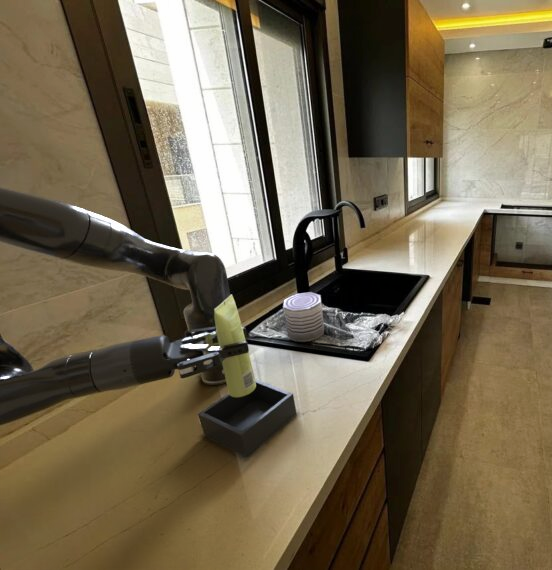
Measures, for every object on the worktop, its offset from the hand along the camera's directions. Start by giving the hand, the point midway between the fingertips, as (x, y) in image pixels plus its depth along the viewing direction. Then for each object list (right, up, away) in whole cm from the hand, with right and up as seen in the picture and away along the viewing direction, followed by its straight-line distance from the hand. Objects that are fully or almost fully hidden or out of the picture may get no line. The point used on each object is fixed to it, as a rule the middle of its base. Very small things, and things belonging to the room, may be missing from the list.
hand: (246, 339), depth 63 cm
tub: (-2, -20, +6) cm, 21 cm away
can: (-4, -5, +43) cm, 44 cm away
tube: (-2, -11, +3) cm, 11 cm away
